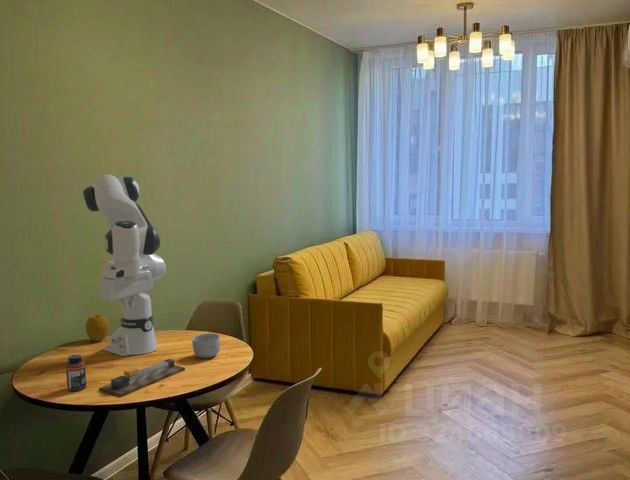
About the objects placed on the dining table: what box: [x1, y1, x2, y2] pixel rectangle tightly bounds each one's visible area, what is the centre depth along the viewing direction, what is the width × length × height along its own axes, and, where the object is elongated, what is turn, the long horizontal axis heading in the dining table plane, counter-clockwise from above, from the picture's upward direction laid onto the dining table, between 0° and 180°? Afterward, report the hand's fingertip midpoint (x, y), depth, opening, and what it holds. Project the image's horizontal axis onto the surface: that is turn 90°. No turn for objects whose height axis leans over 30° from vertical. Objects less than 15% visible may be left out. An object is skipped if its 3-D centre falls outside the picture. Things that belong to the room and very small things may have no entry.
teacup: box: [191, 332, 221, 359], centre depth 220 cm, size 14×11×8 cm
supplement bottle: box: [65, 354, 87, 392], centre depth 185 cm, size 6×6×11 cm
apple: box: [85, 314, 110, 343], centre depth 243 cm, size 10×10×12 cm
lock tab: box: [123, 367, 140, 376], centre depth 187 cm, size 4×3×1 cm
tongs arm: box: [124, 358, 176, 381], centre depth 195 cm, size 21×3×1 cm, turn 150°
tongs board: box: [98, 362, 186, 398], centre depth 192 cm, size 29×11×4 cm, turn 150°
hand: (128, 308), depth 190 cm, fingers closed
